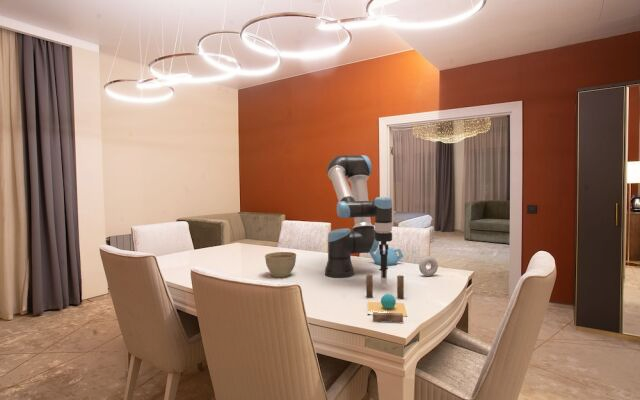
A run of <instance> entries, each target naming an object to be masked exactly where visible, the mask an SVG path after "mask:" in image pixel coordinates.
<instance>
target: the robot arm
mask: <svg viewBox="0 0 640 400" xmlns="http://www.w3.org/2000/svg"><path fill="white" fill-rule="evenodd" d="M372 169H373V167H372V162H371V159H370V157H368V156H367V155H362V154H358V155H357V154H355V155H354V154H353V155H351V154H342V155H336V156H335V157H333V158H332V159H331V160H330V162H329V163H328V165H327V167H326V174H327V177H328V178H329V180H331V184H332V185H333V188H334V191H335V194H336V198H337V200H338V202H337V203H336V215H337V217H339V218H346V219H349V218H354V226H353V227H352V228H351V229H352V230H351V229H350V228H345V227H344V228H337V229H333V230H331V231H329V232H328V233H327V262H326V265H325V269H324V275H325V276H326V277H330V278H339V279H340V278H341V279H342V278H349V277H352V276H354V275H355V269H354V266H353V263H352V260H351V254H352V255H353V254H370V253H371V252H373V253H376V252H377V250H378V249H380V255H381V265H379V266H380V268H379V269H378V270H379V271H380V286H381V285H383V286H386V285H388V269H389V268H388V266H387V255H388V247H389V244H387V243H388V242H392V241H393V233H392V231H393V227H394V224H393V200H392V198H391V197H389V196H386V197H385V196H378V197H375V199H372V200H369V192H368V184H367V181H368V180H369V178H370V176H371V174H372V171H373V170H372ZM349 183H350V185H349ZM350 186H351V187H350ZM372 217H373V218H374V225H373V224H372V222H371V221H372V220H371V218H372Z"/></svg>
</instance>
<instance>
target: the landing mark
mask: <svg viewBox="0 0 640 400" xmlns="http://www.w3.org/2000/svg"><path fill="white" fill-rule="evenodd" d="M371 310H372V312H373V310H374V311H378V312H379V311H380V312H384V311H385V312H386V311H387V313H388V312H389V313H402V314H403V317H408V314H407V310H406V306H405V302H396V304H395V306H394V307H393V308H392V309H386V308H384V307H383V306H382V304H381V301H368V302H367V310H366V311H370V312H371Z"/></svg>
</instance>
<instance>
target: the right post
mask: <svg viewBox="0 0 640 400" xmlns="http://www.w3.org/2000/svg"><path fill="white" fill-rule="evenodd" d="M396 277H397V278H396V279H397V281H396V285H397V286H396V288H397V289H396V294H397V295H396V298H397V299H399V300H403V299H404V298H405V296H404V295H405V294H404V293H405V289H404V288H405V286H404V285H405V283H404V282H405V276H404V275H401V274H400V275H397V276H396Z"/></svg>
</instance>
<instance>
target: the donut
mask: <svg viewBox="0 0 640 400" xmlns="http://www.w3.org/2000/svg"><path fill="white" fill-rule="evenodd" d="M428 264H430V268H429V269H428V268H427V265H428ZM438 268H439V263H438V262H437V259H436V258H435V257H432V256H429V255H428V256H424V257H423V258H422V259H421V260H420V262H419V263H418V269H419V272H420V273H421V274H422V275H423V276H425V277H431V276H433V275H435V274H436V273H437V271H438Z"/></svg>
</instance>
